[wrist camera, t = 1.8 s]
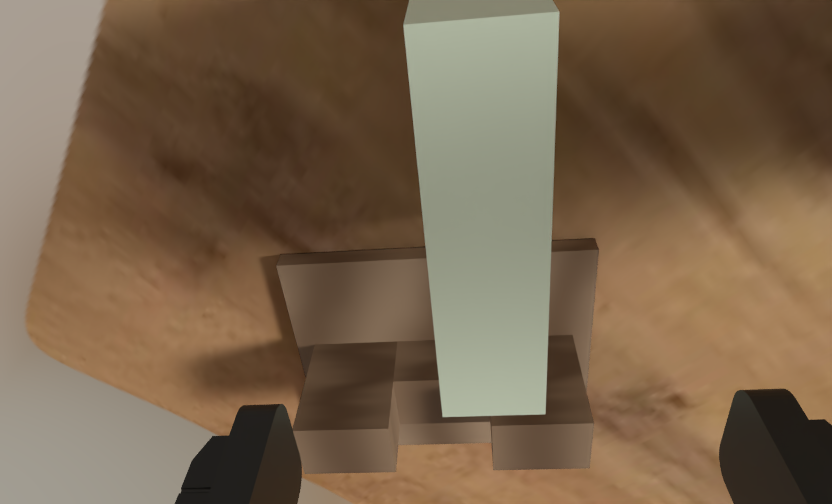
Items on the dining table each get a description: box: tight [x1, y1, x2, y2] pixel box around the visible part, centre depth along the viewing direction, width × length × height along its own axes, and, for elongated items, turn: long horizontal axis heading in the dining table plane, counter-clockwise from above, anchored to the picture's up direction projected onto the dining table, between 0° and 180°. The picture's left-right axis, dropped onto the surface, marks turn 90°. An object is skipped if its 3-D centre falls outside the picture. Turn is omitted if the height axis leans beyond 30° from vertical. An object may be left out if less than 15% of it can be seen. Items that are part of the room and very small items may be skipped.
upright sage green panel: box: [403, 0, 559, 417], centre depth 21 cm, size 3×12×13 cm, turn 5°
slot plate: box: [276, 238, 599, 474], centre depth 33 cm, size 16×14×7 cm
